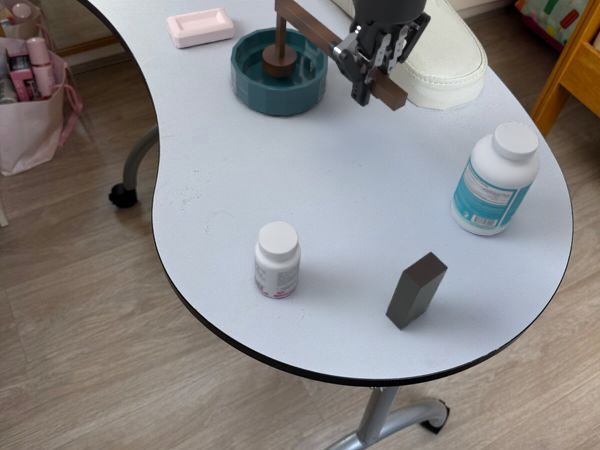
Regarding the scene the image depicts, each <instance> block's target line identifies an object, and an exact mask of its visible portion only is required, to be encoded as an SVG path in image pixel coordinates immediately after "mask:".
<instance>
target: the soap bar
mask: <svg viewBox="0 0 600 450" xmlns="http://www.w3.org/2000/svg"><path fill="white" fill-rule="evenodd" d="M165 20H166V27H167V31H168V33H169V36H170V37H171V38H172V42H173V43H174V46H175V48H178V49H183V48H187V47H192V46H198V45H202V44H206V43H211V42H217V41H223V40H226V39H232V38H234V36H235V25H234V23H233V21H232V19H231V18H230V16H229V14H228V13H227V11H226V9H225V8H224V7H222V6H221V7H216V8H210V9H205V10H199V11H193V12H188V13H183V14H177V15H172V16H171V15H170V16H168V17H167V18H166V19H165Z"/></svg>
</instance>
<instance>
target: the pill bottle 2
mask: <svg viewBox="0 0 600 450" xmlns="http://www.w3.org/2000/svg"><path fill="white" fill-rule="evenodd" d="M539 145H540V139H539V135H538V134H537V132H536V131H535V130H533V128H531V127H530V126H528V125H526V124H524V123H521V122H519V121H506V122H502V123H500V124H499V125H498V126H497V127H496V128H495V130H494V132H493V133H489V134H486V135H484V136H482V137H481V138H480V139H478V140H477V141H476V143H475V144H474V147H473V148H472V150H471V152H470V155H469V157H468V160H467V162H466V165H465V166H464V169H463V171H462V173H461V176H460V178H459V181H458V183H457V185H456V188H455V190H454V192H453V195H452V197H451V200H450V212H451V215H452V218H453V219H454V221H455V222H456V223H457V224H458V225H459V226H460V227H461V228H463V230H466V231H467V232H470V233H472V234H475V235H479V236H493V235H496V234H498V233H501V232H503V231H504V230H505V229H506V228H507V227H508V226H509V224H510V222H511V220H512V219H513V217H514V216H515V214H516V212H517V210H518V209H519V207H520V205H521V204H522V203H523V200H524V198H525V196H526V195H527V193H528V191H529V190H530V189H531V187H532V185H533V183H534V181H535V180H536V178H537V176H538V174H539V172H540V169H541V159H540V156H539V154H538V151H537V150H538V147H539Z"/></svg>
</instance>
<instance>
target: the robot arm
mask: <svg viewBox="0 0 600 450" xmlns="http://www.w3.org/2000/svg"><path fill="white" fill-rule="evenodd" d="M351 1H352V6H353V8H354V17H353V19H352V20H351V23H350V25H349V28H348V32H349V33H348V35H347V36H346V37H344V39H342V40H343V41H342V42H341V43H340V44H339V43H338V42H337V41H332V42H331V43H330V45H329V47H328V50H329V52H330V53H331V55H332V57H333V59H334V60H333V62H334V63H335V65H336V67H337V69H338V71H339V73H340V74H341V75H342V76H343V77H344V78H346V79H347V80H348V81H349V82H350V83H351V84H352V85H351V92H350V97H351V99H352V100H354V101H355V102H356V103H357V104H358V105H359V106H360V107H361V108H363V107H365V106H368V105H369V104H370V100H371V99H370V98H371V96H373V97H374V98H375V99H377V100H379V99H378V98H377V97H376V96H375V95H374V94H372V93H371V90H372V85H373V79H374V76H375V72H376V68H378V69H379V70H380V71H381V72H382V73H384V74H385V75H386V76H387V77H389V78H390V76H391V75H390V74H392V73H393V72H394V71H395V69H396V67H397V64H398V63H399V64H404V63H405V62H406V61H407V59H408V58H409V57H410V55H411V53H412V51H414V48H415V47H416V45H417V43H418V41H419V40H420V38H421V36H422V35H423V34H424V32H425V30H426V28H428V25H429V24H430V22H431V20H432V17H431V15H429V14H428V13H427V12H426V11H425V9H426V5H427V1H428V0H351ZM405 42H406V43H405ZM363 64H365V65H366V69H365V68H364V67H363Z"/></svg>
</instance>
